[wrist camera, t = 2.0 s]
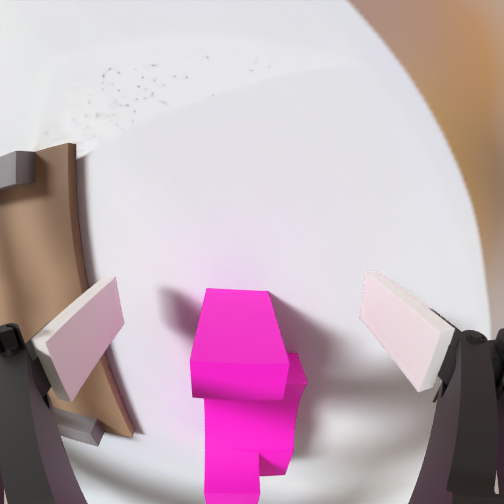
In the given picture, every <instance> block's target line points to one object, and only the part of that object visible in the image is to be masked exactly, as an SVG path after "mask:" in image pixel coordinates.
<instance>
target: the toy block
mask: <svg viewBox="0 0 504 504" xmlns="http://www.w3.org/2000/svg"><path fill="white" fill-rule="evenodd" d="M190 370H191V384H192V397H194V398H204V408H205V481H204V495H205V500H206V504H258V500H259V496H260V481H259V476H275V475H285V473H286V471H287V468H288V465H289V462H290V460H291V457H292V454H293V451H294V430H295V421H296V415H297V410H298V405H299V401H300V398H301V395H302V393H303V390H304V388H305V387H306V385H307V384H308V382H307V380H306V377H305V374H304V371H303V368H302V365H301V363H300V360H299V357H298V354H297V353H286V350H285V346H284V343H283V339H282V336H281V333H280V329H279V326H278V323H277V319H276V316H275V313H274V309H273V306H272V303H271V299H270V296H269V293H268V291H253V290H231V289H212V288H207V289H206V293H205V297H204V301H203V305H202V309H201V314H200V318H199V322H198V327H197V331H196V335H195V340H194V344H193V349H192V353H191V358H190Z"/></svg>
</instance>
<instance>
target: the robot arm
mask: <svg viewBox="0 0 504 504" xmlns="http://www.w3.org/2000/svg"><path fill="white" fill-rule="evenodd" d="M359 318H360V319H361V321H362V322H363V323H364V324H365V325H366V327H367V328H368V329H369V330H370V332H371V333H372V334H373V335H374V337H375V338H376V339H377V340H378V341H379V343H380V344H381V345H382V346H383V348H384V349H385V350H386V351H387V353H388V354H389V355H390V357H391V358H392V359H393V360H394V362H395V363H396V364H397V365H398V367H399V368H400V369H401V371H402V372H403V373H404V374H405V376H406V377H407V378H408V380H409V381H410V382H411V384H412V385H413V386H414V388H415V389H416V390H417V391H418V393H419V392H422V391H425V390H428V389H430V388H433V386H434V383H435V381H436V379H437V376H439V377H440V379H441V380H442V383H441V385H440V388H439V390H438V392H437V394H436V396H435V398H434V400H433V402H435V401H436V400H437V405H436V411H435V416H434V421H433V426H432V430H431V435H430V439H429V443H428V447H427V450H426V454H425V457H424V461H423V464H422V467H421V471H420V474H419V477H418V480H417V482H416V485H415V488H414V491H413V493H412V496H411V498H410V501H409V503H408V504H504V328H503V329H500V330H499V332H498V334H497V337H496V340H487V338H486V337H485V336H484V335H483V334H481V333H479V332H477V331H474V330H466V331H463V332H461V331H460V330H459V329H457V328H456V327H455V326H454V325H452V324H451V323H450V322H449V321H447V320H446V319H445V318H443V317H442V316H440V314H438V313H437V312H436V311H434V310H432V309H430V308H428V307H427V306H425V305H424V304H423V303H421V302H420V301H419V300H417V299H416V298H415V297H413V296H412V295H411V294H409V293H408V292H407V291H405V290H404V289H402V288H401V287H400V286H398V285H397V284H396V283H394V282H393V281H391V280H390V279H389V278H387V277H386V276H384V275H383V274H382V273H380V272H379V271H366V272H365V280H364V288H363V296H362V302H361V309H360V315H359ZM123 325H124V319H123V314H122V309H121V304H120V299H119V294H118V288H117V282H116V277H103V278H102V279H100V280H99V281H98V282H97V283H95V284H94V285H93V286H92V287H90V288H89V289H88V290H87V291H86V292H84V293H83V294H82V295H81V296H80V297H78V298H77V299H76V300H75V301H74V302H72V303H71V304H70V305H69V306H68V307H67V308H65V309H64V310H63V311H62V312H61V313H60V314H59V315H57V316H56V317H55V318H54V319H52V320H51V321H49V322H48V323H47V324H46V325H45V327H43V328H42V329H41V330H40V332H39V331H38V332H37V333H36V334H35V335H34V336H33V337H32V338H31V339H30V340H29V341H28V342H27V343H25V342H24V339H23V337H22V334H21V331H20V328H19V325H18V324H16V323H7V324H4V325H1V326H0V504H4V490H5V494H6V498H7V502H8V504H87V502H86V500H85V497H84V495H83V493H82V491H81V489H80V487H79V484H78V482H77V480H76V477H75V475H74V473H73V470H72V468H71V465H70V462H69V460H68V457H67V454H66V451H65V448H64V445H63V442H62V439H61V436H60V433H59V429H58V426H57V422H56V418H55V415H54V411H53V406H52V402H51V399H50V397H49V395H48V391H49V390H50V388H51V387H52V389H53V391H54V393H55V395H56V397H57V399H61V400H64V401H68V402H72V401H73V400H74V398H75V396H76V395H77V393H78V392H79V390H80V388H81V387H82V385H83V384H84V382H85V381H86V379H87V378H88V376H89V375H90V373H91V371H92V370H93V368H94V367H95V365H96V364H97V362H98V361H99V359H100V358H101V356H102V355H103V354H104V352H105V351H106V349H107V348H108V346H109V345H110V343H111V342H112V340H113V339H114V338H115V336H116V335H117V333H118V332H119V331H120V329H121V328H122V326H123ZM496 470H497V477H498V487H499V494H495V492H494V486H495V478H496Z"/></svg>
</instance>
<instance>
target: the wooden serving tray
mask: <svg viewBox="0 0 504 504" xmlns="http://www.w3.org/2000/svg"><path fill="white" fill-rule="evenodd" d="M88 289H89V287H88V282H87V276H86V271H85V265H84V259H83V252H82V245H81V237H80V228H79V218H78V205H77V188H76V144H72V143H66V144H62V145H58V146H54V147H50V148H47V149H43V150H40V151H36V152H28V151H14V152H12V153H9V154H6V155H4V156H1V157H0V326H1V325H4V324H7V323H16V324H18V325H19V328H20V331H21V334H22V337H23V339H24V342H25V343H27V342H28V341H29V340H30V339H31V338H32V337H33V336H34V335H35V334H36V333H37V332H38V331H39V332H40V330H41V329H42V328H43V327H45V325H46V324H47V323H48V322H49V321H51V320H52V319H54V318H55V317H56V316H57V315H59V314H60V313H61V312H62V311H63V310H64V309H65V308H67V307H68V306H69V305H70V304H71V303H72V302H74V301H75V300H76V299H77V298H78V297H80V296H81V295H82V294H83V293H84V292H86V291H87V290H88ZM48 395H49V397H50V399H51V402H52V406H53V411H54V415H55V418H56V422H57V426H58V429H59V433H60V435H61V436H64V437H67V438H70V439H74V440H77V441H80V442H84V443H87V444H91V445H95V446H99V444H100V441H101V439H102V436H103V434H104V432H108V433H113V434H118V435H123V436H129V437H133V434H134V431H135V429H134V427H133V424H132V422H131V420H130V418H129V415H128V413H127V411H126V408H125V406H124V404H123V401H122V399H121V396H120V394H119V391H118V388H117V386H116V383H115V380H114V377H113V375H112V372H111V369H110V366H109V363H108V360H107V357H106V353H105V352H104V354H103V355H102V356H101V358H100V359H99V361H98V362H97V364H96V365H95V367H94V368H93V370H92V371H91V373H90V375H89V376H88V378H87V379H86V381H85V382H84V384H83V385H82V387H81V388H80V390H79V392H78V393H77V395H76V396H75V398H74V400H73V401H72V402H68V401H64V400H61V399H57V397H56V395H55V393H54V391H53V389H52V387H51V388H50V390H49V391H48Z"/></svg>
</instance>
